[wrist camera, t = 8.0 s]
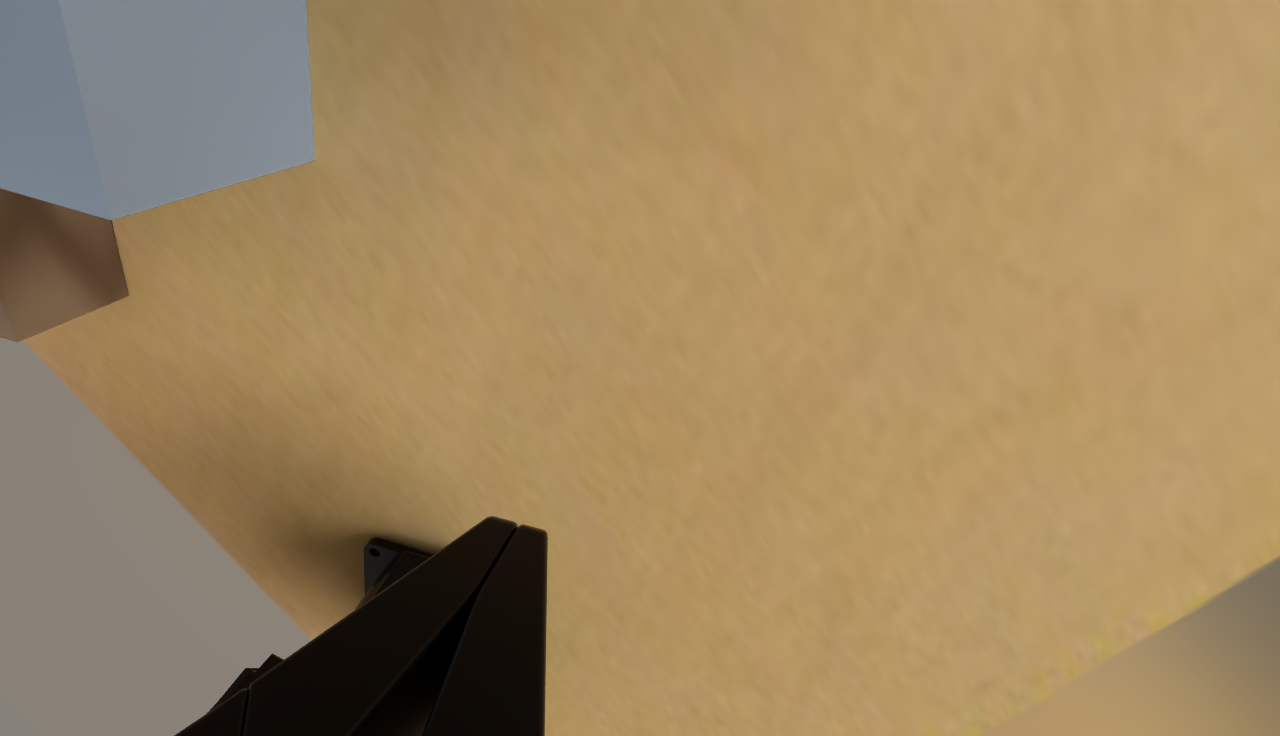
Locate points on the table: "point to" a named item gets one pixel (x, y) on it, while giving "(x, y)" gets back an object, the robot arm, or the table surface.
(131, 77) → the block
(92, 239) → the board
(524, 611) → the robot arm
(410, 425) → the table surface
